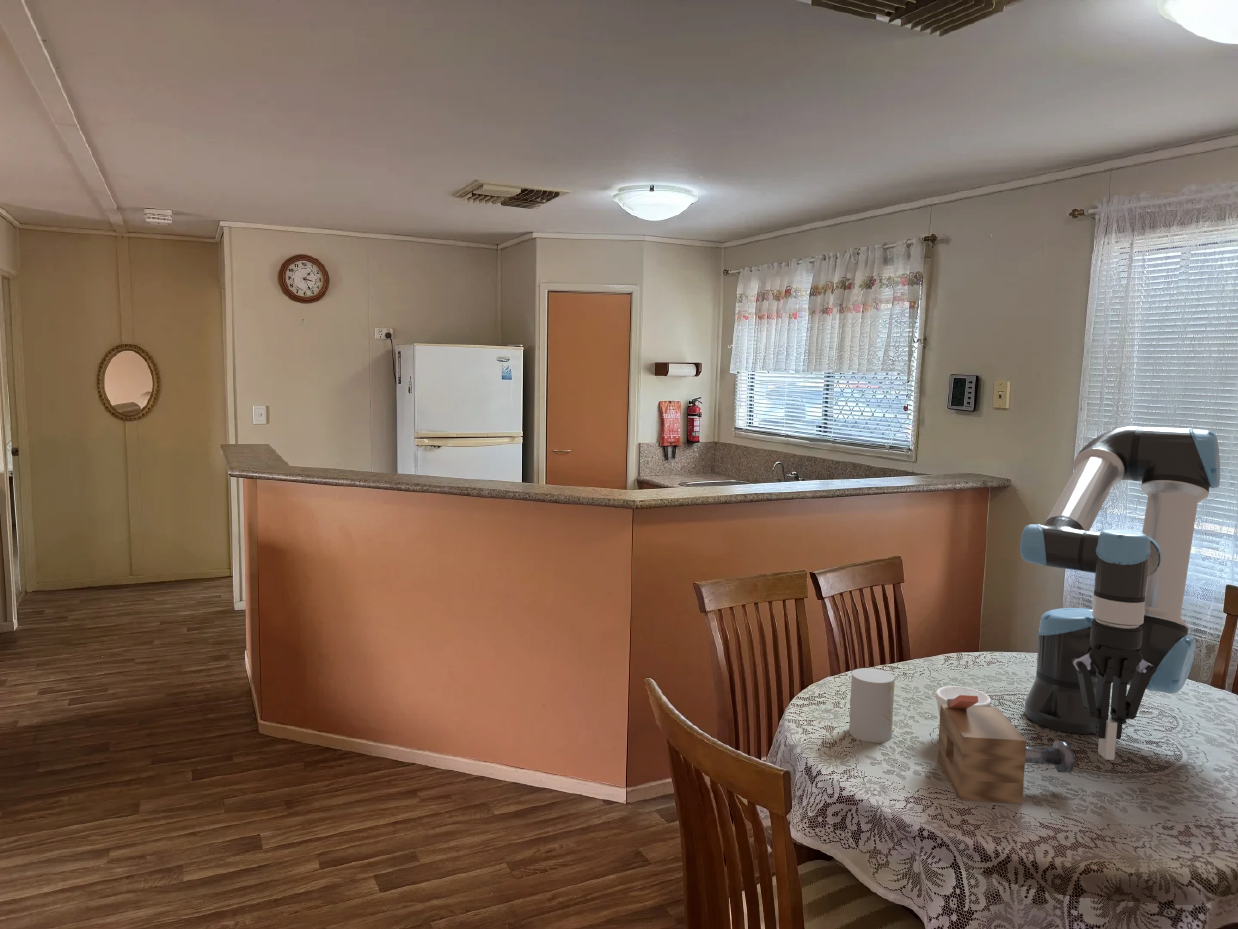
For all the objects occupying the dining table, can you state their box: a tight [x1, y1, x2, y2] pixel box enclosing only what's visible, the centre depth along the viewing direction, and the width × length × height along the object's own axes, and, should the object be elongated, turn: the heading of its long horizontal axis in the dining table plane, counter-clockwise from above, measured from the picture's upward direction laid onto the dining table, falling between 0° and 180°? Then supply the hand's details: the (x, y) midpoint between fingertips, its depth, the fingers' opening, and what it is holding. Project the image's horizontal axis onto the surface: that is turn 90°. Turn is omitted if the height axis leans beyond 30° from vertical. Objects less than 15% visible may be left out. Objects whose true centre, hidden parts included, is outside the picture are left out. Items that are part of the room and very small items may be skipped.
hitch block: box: [936, 704, 1027, 805], centre depth 146 cm, size 10×14×11 cm
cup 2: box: [935, 685, 992, 717], centre depth 162 cm, size 10×10×9 cm
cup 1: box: [848, 667, 896, 744], centre depth 165 cm, size 8×8×12 cm
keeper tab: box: [947, 695, 978, 709], centre depth 148 cm, size 3×8×2 cm
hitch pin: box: [1025, 740, 1075, 774], centre depth 145 cm, size 15×5×5 cm, turn 84°
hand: (1105, 756), depth 143 cm, fingers closed
